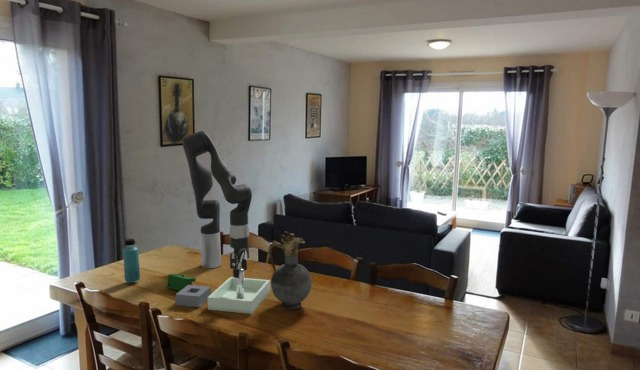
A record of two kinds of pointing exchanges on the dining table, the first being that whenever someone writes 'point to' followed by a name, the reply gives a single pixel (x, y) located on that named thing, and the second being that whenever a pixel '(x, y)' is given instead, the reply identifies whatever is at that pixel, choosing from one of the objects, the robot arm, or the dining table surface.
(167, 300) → the dining table surface
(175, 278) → the green irregular block
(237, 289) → the lock pin
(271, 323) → the dining table surface
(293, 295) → the pitcher
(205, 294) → the block
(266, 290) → the tray
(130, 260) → the beverage bottle
